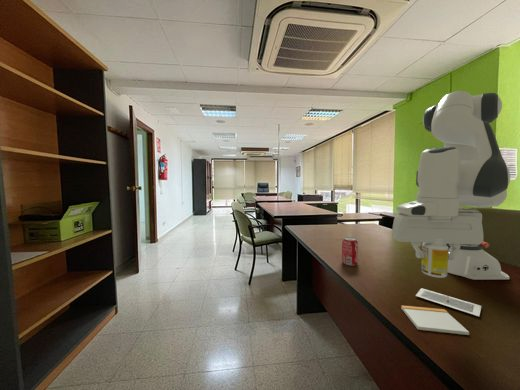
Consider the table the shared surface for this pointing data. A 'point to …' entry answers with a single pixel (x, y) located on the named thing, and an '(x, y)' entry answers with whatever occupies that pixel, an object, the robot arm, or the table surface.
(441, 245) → the supplement bottle
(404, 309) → the notepad
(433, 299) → the touchpad
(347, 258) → the soda can
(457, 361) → the table surface
